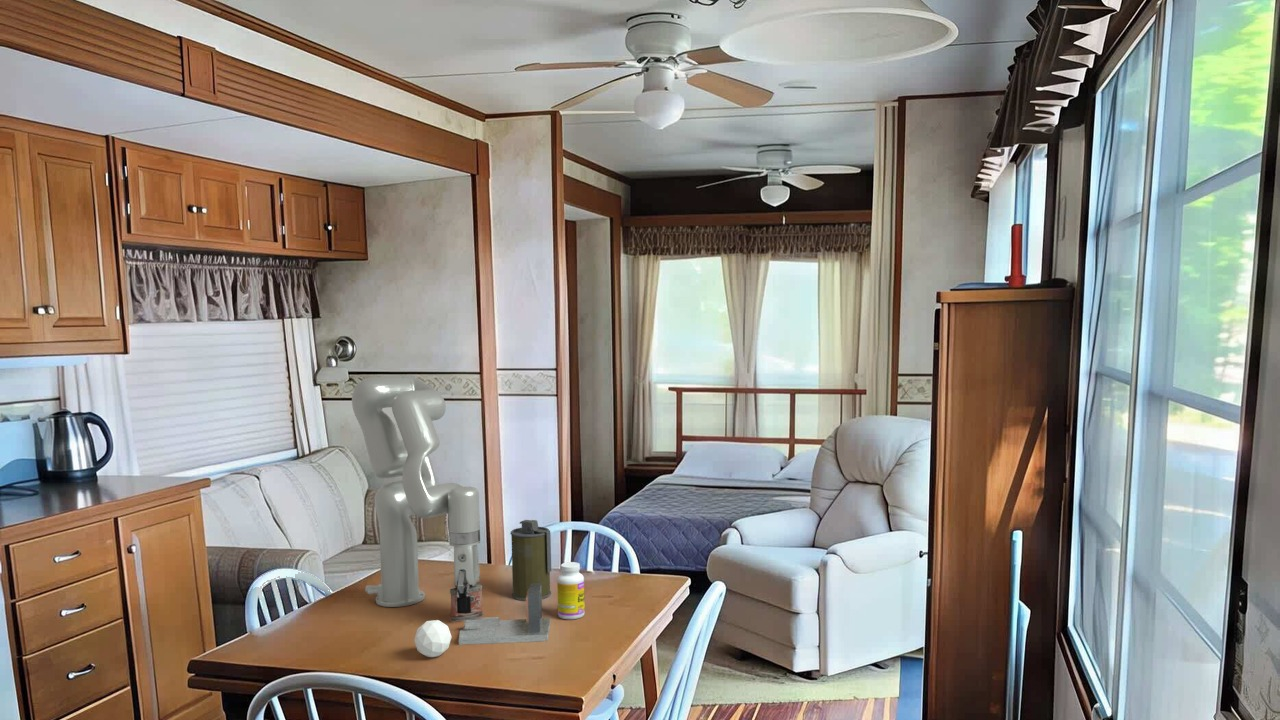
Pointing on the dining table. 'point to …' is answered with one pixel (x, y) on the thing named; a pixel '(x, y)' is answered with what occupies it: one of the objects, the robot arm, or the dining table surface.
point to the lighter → (476, 603)
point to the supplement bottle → (570, 592)
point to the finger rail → (509, 625)
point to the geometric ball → (432, 638)
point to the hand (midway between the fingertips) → (467, 606)
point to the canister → (530, 559)
